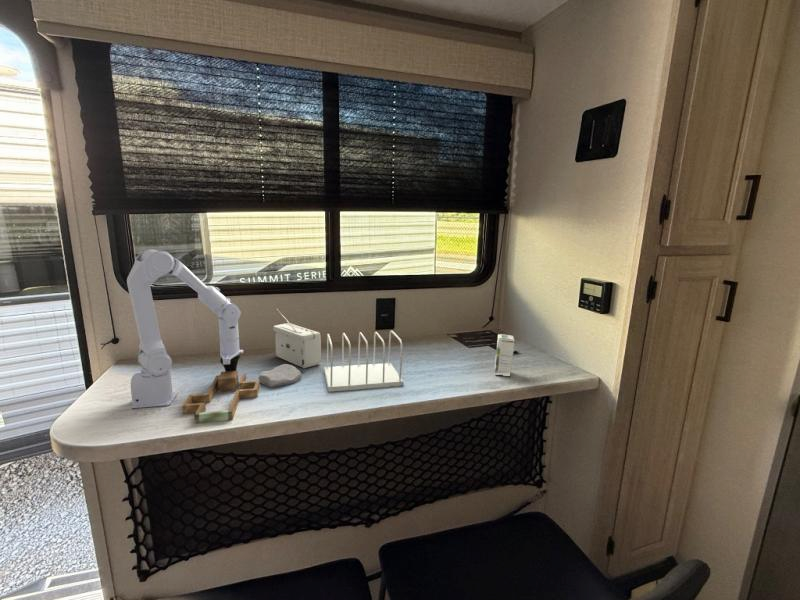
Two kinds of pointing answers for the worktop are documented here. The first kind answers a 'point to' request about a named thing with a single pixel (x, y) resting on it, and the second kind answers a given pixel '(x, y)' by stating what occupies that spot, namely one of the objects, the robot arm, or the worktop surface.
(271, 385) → the stone block
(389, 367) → the file sorter
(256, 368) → the worktop surface
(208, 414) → the trap lane
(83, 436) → the worktop surface
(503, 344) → the syrup box
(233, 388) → the walnut block
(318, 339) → the stereo radio cassette player
